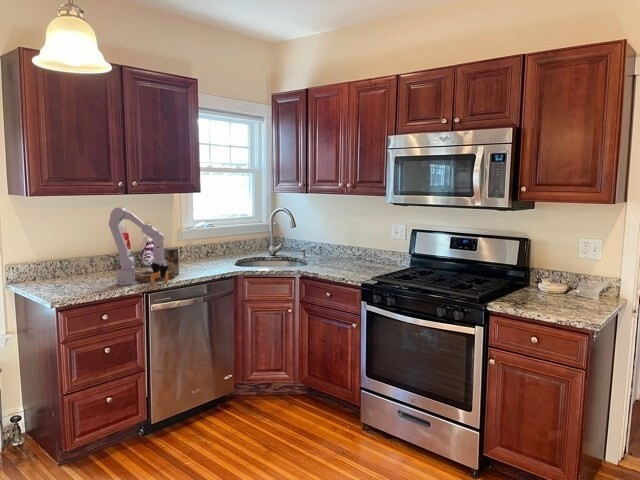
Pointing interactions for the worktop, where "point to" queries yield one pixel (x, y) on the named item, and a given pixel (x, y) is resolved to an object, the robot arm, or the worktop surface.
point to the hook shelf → (146, 276)
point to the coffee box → (172, 260)
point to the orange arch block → (155, 275)
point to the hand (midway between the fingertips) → (159, 276)
